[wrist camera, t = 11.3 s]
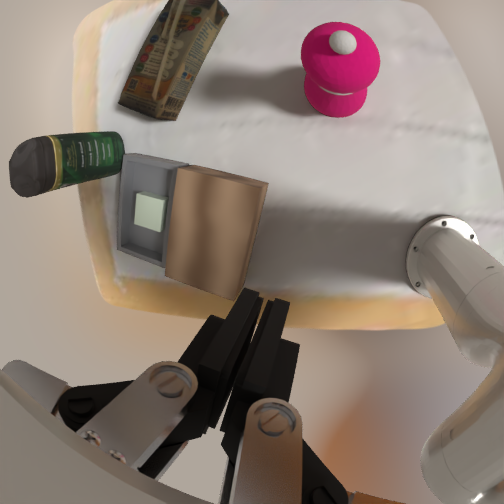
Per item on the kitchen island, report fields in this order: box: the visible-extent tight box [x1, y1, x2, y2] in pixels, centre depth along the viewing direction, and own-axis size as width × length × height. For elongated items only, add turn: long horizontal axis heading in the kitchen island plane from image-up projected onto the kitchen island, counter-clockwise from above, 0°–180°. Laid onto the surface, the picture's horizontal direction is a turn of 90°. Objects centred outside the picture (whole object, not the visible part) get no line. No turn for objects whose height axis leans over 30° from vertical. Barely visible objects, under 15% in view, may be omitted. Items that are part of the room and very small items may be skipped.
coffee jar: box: [9, 132, 125, 197], centre depth 33 cm, size 10×8×19 cm
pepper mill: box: [301, 22, 380, 118], centre depth 21 cm, size 7×7×20 cm
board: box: [165, 165, 269, 301], centre depth 39 cm, size 11×16×5 cm
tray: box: [117, 153, 189, 268], centre depth 41 cm, size 10×16×3 cm, turn 167°
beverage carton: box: [118, 0, 229, 121], centre depth 30 cm, size 8×19×7 cm, turn 154°
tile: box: [134, 191, 169, 232], centre depth 41 cm, size 5×5×2 cm
